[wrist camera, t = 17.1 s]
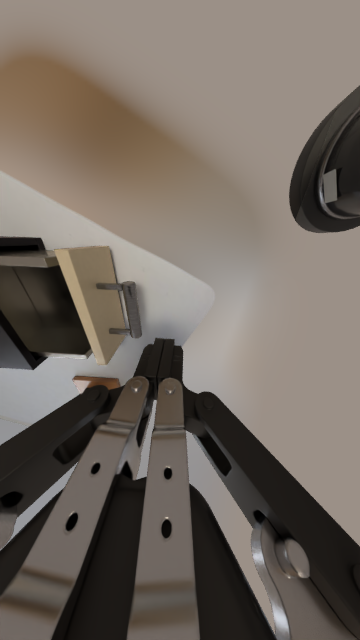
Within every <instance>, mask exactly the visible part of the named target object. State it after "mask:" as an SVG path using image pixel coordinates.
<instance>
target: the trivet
mask: <svg viewBox="0 0 360 640" xmlns="http://www.w3.org/2000/svg"><path fill="white" fill-rule="evenodd" d="M72 380H73V382H74V384H75V386H76V387H77V389H78V391H79V393H80V394H81V393H83V392H84V390H85V389H86V387H88V388H91V387H93V386H96V385H104V386H106V387H107V388H108V390H110V389H114V388H118V387H120V383H119V380H118V379H113V378H98V377H83V376H75V377H74V378H73V379H72Z"/></svg>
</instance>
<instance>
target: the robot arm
mask: <svg viewBox="0 0 360 640" xmlns="http://www.w3.org/2000/svg"><path fill="white" fill-rule="evenodd" d="M314 198H315V202H316V205H317V207H318V209H319V210H320V212H321V213H322V214H324V215H325V216H327V217H329V218H331V219H337V220H342V219H351V218H357V217H360V106H359V107H358V108H357V109H356V110H354V111H353V112H352V113H351V114H350V115H349V117H348V118H347V119H346V120H345V121H344V122H343V123H342V125H341V126H340V127H339V128H338V130H337V131H336V133H335V134H334V135H333V137H332V138H331V140H330V142H329V143H328V145H327V147H326V149H325V151H324V153H323V155H322V157H321V160H320V162H319V165H318V168H317V171H316V175H315V180H314ZM174 341H175V340H174V339H164V338H155V341H154V344H148V345H147V346H146V347H145V348H144V350H143V353H142V355H141V358H140V360H139V363H138V366H137V368H136V371H135V373H134V376H133V378H131V379H130V380H129V381H127V383H126V384H125V385H124V386H122V387H118V388H114V389H110V390H108V388H107V387H106V386H104V385H96V386H93V387H91V388H89V389H88V390H86V391H84V392H83V393H81V394H80V395H78V396H77V397H75V398H73V399H72V400H70V401H69V402H67V403H66V404H64V405H62V406H61V407H59V408H58V409H56V410H55V411H53V412H52V413H50V414H48V415H47V416H45V417H44V418H42V419H41V420H39V421H37V422H36V423H34V424H33V425H31V426H30V427H28V428H27V429H25V430H23V431H22V432H21V433H19V434H17V435H16V436H14V437H12V438H11V439H10V440H8V441H6V442H5V443H3V444H2V445H1V446H0V549H1V548H3V547H4V546H5V545H6V543H7V542H8V541H9V539H10V538H11V536H12V534H13V531H14V525H15V522H16V519H17V517H19V515H21V514H22V513H23V512H24V511H25V510H26V509H27V508H28V507H29V506H30V505H32V504H33V503H34V502H35V501H36V500H37V499H38V498H39V497H40V496H41V495H42V494H43V493H45V492H46V491H47V490H48V489H49V488H50V487H51V486H52V485H53V484H54V483H55V482H57V481H58V480H59V479H60V478H61V477H62V476H63V475H64V474H65V473H66V472H67V471H69V470H70V468H72V467H73V466H74V465H75V464H76V463H77V462H78V461H79V462H78V463H77V465H76V467H75V469H74V471H73V473H72V475H71V476H70V478H69V480H68V482H67V484H66V486H65V487H64V488H63V489H62V490H61V491H60V492H59V493H58V494H56V495H55V496H54V497H53V498H52V499H51V500H50V501H49V502H48V503H47V504H46V505H45V506H44V507H43V508H42V509H41V510H40V511H39V512H38V513H37V514H36V515H35V516H34V517H33V518H32V520H31V521H30V522H28V523H27V524H26V525H25V526H24V527H23V528H22V529H21V530H20V531H19V533H18V534H17V535H15V537H14V538H13V539H12V540H11V541H10V542H9V543H8V544H7V545H6V546H5V547H4V548H3V549H2V550H1V551H0V640H360V546H359V545H358V544H357V543H356V542H355V541H354V540H353V539H352V538H351V537H350V536H349V535H348V534H347V533H346V532H345V531H344V530H343V529H342V528H341V526H340V525H339V524H338V523H337V522H336V521H335V520H334V519H333V518H332V517H331V516H330V515H329V514H328V513H327V512H326V511H325V510H324V509H323V508H322V506H321V505H319V503H318V502H317V501H316V500H315V499H314V498H313V497H312V496H311V495H310V494H309V493H308V492H307V491H306V490H305V489H304V488H303V487H302V485H300V483H299V482H298V481H297V480H296V479H295V478H294V477H293V476H292V475H291V474H290V473H289V472H288V471H287V470H286V469H285V468H284V467H283V466H282V464H281V463H280V462H279V461H278V460H277V459H276V458H275V457H274V456H273V455H272V454H271V453H270V452H269V451H268V450H267V449H266V448H265V447H264V446H263V444H262V443H261V442H260V441H259V440H258V439H257V438H256V437H255V436H254V435H253V434H252V433H251V432H250V431H249V430H248V429H247V428H246V427H245V426H244V425H243V423H241V421H240V420H239V419H238V418H237V417H236V416H235V415H234V414H233V413H232V412H231V411H230V410H229V409H228V408H227V407H226V406H225V405H224V404H223V402H221V400H220V399H219V398H218V397H217V396H216V395H214V394H213V393H211V392H201V393H199V394H197V393H194V392H192V391H190V390H188V389H187V388H186V387H185V386H184V384H183V381H182V373H183V372H182V371H183V350H182V348H181V346H174ZM154 400H157V404H156V413H155V424H154V429H153V431H152V437H151V446H150V454H149V464H148V472H147V477H144V478H141V479H138V480H136V477H137V474H138V470H139V466H140V460H141V452H142V447H143V443H144V439H145V435H146V431H147V428H148V425H149V421H150V417H151V413H152V406H153V401H154ZM186 430H187V431H188V432H190V433H192V435H193V437H194V438H195V439H196V441H197V443H198V444H199V446H200V447H201V449H202V450H203V452H204V453H205V455H206V457H207V458H208V460H209V461H210V463H211V464H212V466H213V467H214V469H215V470H216V472H217V474H218V475H219V477H220V478H221V480H222V481H223V483H224V484H225V486H226V487H227V489H228V491H229V492H230V493H231V495H232V497H233V498H234V500H235V501H236V503H237V504H238V506H239V507H240V509H241V510H242V512H243V514H244V515H245V517H246V518H247V520H248V521H249V523H250V524H251V526H252V528H253V531H252V534H251V549H252V555H253V559H254V563H255V566H256V569H257V571H258V574H259V575H260V578H261V580H262V582H263V584H264V586H265V589H266V591H267V594H268V597H269V600H270V603H271V607H272V612H273V617H274V623H275V634H276V635H275V634H274V632H273V630H272V628H271V626H270V624H269V623H268V620H267V618H266V616H265V615H264V613H263V611H262V609H261V607H260V605H259V603H258V601H257V599H256V597H255V595H254V593H253V591H252V589H251V587H250V585H249V583H248V581H247V579H246V577H245V575H244V573H243V571H242V569H241V567H240V566H239V564H238V561H237V559H236V558H235V556H234V554H233V552H232V550H231V548H230V546H229V544H228V542H227V540H226V538H225V536H224V534H223V532H222V530H221V528H220V526H219V524H218V522H217V520H216V518H215V516H214V514H213V512H212V510H211V509H210V507H209V505H208V503H207V502H206V500H205V499H204V497H203V496H202V495H201V494H200V492H199V491H198V490H197V489H196V488H195V487H193V486H192V485H191V484H189V475H188V459H187V442H186Z"/></svg>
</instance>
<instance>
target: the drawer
mask: <svg viewBox="0 0 360 640" xmlns="http://www.w3.org/2000/svg"><path fill="white" fill-rule="evenodd" d="M118 290H123V294H124V300H125V305H126V311H127V316H128V322H129V327H130V329H125V324H124V319H123V314H122V309H121V304H120V299H119V294H118ZM0 309H1V311H2V312H3V314H4V315H5V317H6V318H7V319H8V321H9V322H10V324H11V325H12V327H13V328H14V330H15V331H16V332H17V334H18V335H19V337H20V338H21V340H22V341H23V343H24V344H25V346H26V347H27V348H28V350H29V351H30V353H31V354H32V356H42V357H58V358H74V359H88V358H89V356H90V355H91V354H92V353H93V354H94V356H95V359H96V361H97V364H98V365H107V364H108V363H109V361H110V360H111V358H112V356H113V355H114V353H115V352H116V350H117V349H118V347H119V346H120V344H121V342H122V341H123V339H124V338H125V336H126V335H131V337H132V338H140V337H141V336H142V330H141V322H140V315H139V307H138V300H137V292H136V284H135V282H132V281H127V282H123V283H122V284H117V283H116V279H115V274H114V269H113V264H112V259H111V254H110V249H109V246H90V247H77V248H64V249H54V251H53V250H27V249H0Z"/></svg>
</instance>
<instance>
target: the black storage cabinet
mask: <svg viewBox="0 0 360 640" xmlns="http://www.w3.org/2000/svg"><path fill="white" fill-rule="evenodd" d="M0 249H27V250H45V247H44V245H43V243H42V240H41V238H32V237H4V236H0ZM47 358H48V357H42V356H32V354H31V353H30V351H29V350H28V348H27V347H26V346H25V344H24V343H23V341H22V340H21V338H20V337H19V335H18V334H17V332H16V331H15V330H14V328H13V327H12V325H11V324H10V322H9V321H8V319H7V318H6V317H5V315H4V314H3V312H2V311H1V309H0V368H12V369H27V370H34V369H35V368H36V367H37V366H39V365H40V364H41V363H42V362H43V361H44V360H46V359H47Z"/></svg>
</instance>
